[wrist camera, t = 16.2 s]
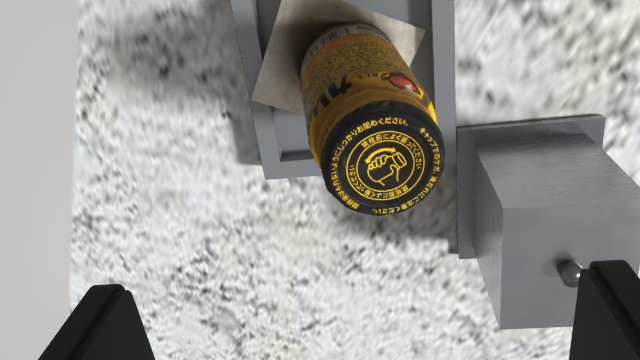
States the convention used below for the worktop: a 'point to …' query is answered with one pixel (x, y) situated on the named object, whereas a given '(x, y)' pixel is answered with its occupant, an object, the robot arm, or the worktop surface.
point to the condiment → (355, 101)
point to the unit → (542, 213)
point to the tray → (290, 128)
